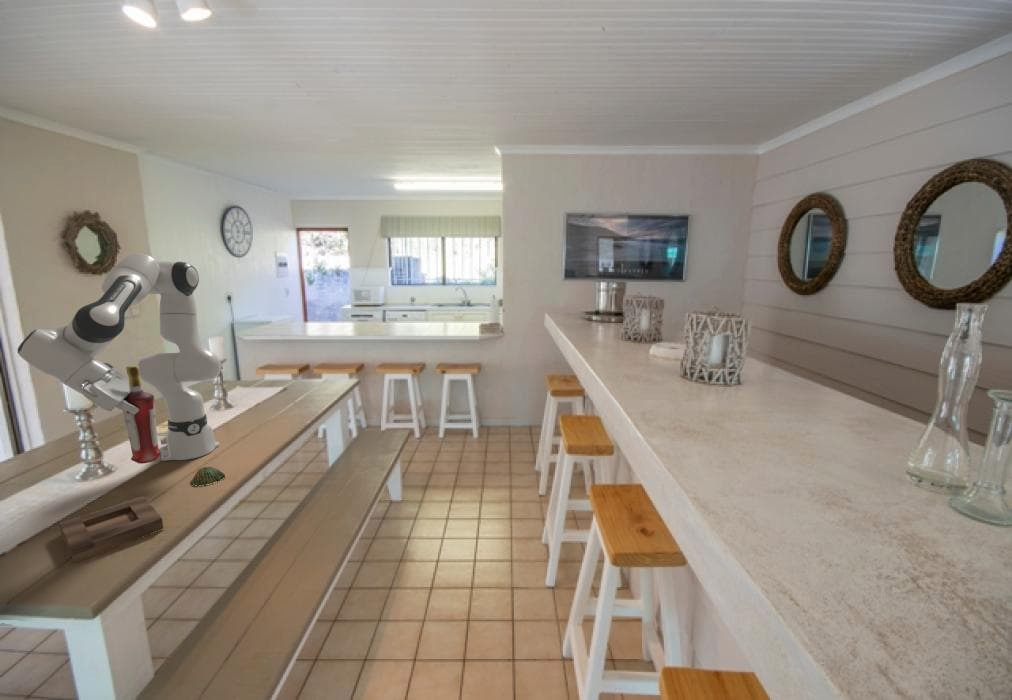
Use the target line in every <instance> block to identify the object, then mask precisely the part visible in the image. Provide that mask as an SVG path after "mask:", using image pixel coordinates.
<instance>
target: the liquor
mask: <svg viewBox="0 0 1012 700" xmlns="http://www.w3.org/2000/svg"><path fill="white" fill-rule="evenodd" d="M125 367H126V374H127V377H128V378H129V389H130V394H129V395H127V396H126V397H125V398H124V399H123V400H125V401H127V403H129V404H131V405H133V406H134V405H135V406H137V407H139V408H140V410H139V411H138V412H137V413H136V414H132V413H130V412H128V411H124V410H122V414H123V418H124V423H125V426H126V430H127V434H128V435H127V436H128V440H129V444H130V449H131V457H130V458H131V459H130V460H131V461H133V462H135V463H136V464H147V463H152V462H154V461H156V460H157V459H158V458H159V456H160V457H161V452H160V446H159V441H158V440H159V439H158V430H157V417H156V414H157V413H156V406H155V395H154V394H152V393H150V392H146V391H145V392H144V388H143V386H142V381H141V378H140V376H139V366H138V365H129V366H125Z"/></svg>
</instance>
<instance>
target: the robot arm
mask: <svg viewBox="0 0 1012 700" xmlns="http://www.w3.org/2000/svg"><path fill="white" fill-rule="evenodd" d="M199 282H200V279H199V273H198V271H197V269H196V268H195V267H194V265H192V264H191V263H189V262H184V261H157V260H156V259H155V258H153V257H151V256H150V255H148V254H146V253H141V252H140V253H139V252H137V253H132V254H129V255H127V256H126V257H125V258H123V259H122V260H120V261H119V262H118V263H117V264H115V266H114V267H113V268H112V269H111V270H110V271H109V272H108V274H107V275H106V277H105V278H104V280H103V283H102V284H101V290H102V292H103V295H102V296H101V297H100V298H99V299H98V300H96V301H94V302H92V303H89V304H86V305H84V306H82V307H80V308H79V309H78V311H76V313H75V314H74V317H73V318H72V319H71V321H70V322H69V323H68V325H65V326H63V327H58V328H52V329H50V328H49V329H48V328H47V329H43V328H37V329H34V330H33V331H31V332H30V333H29V334H28V335H27V336H26V337H25V338H24V340H23V341H22V342H21V343H20V344H19V346H18V347H17V354H18V355H19V357H20V358H22V359H23V360H24V361H25V362H26V363H28V364H29V365H31V366H33V367H34V368H35V369H37V370H38V371H41V372H43V373H44V374H46V375H49V376H52V377H55V378H57V380H59V382H61V384H63V385H65V386H67V387H69V388H70V389H72V390H73V391H75V392H77V393H79V394H81V395H83V396H84V397H85V398H86V399H87V400H88V401H89V402H92V403H93V404H94V405H96V406H97V407H99V408H101V409H103V410H105V411H108V412H112V411H113V410H114V409H115V408H117V409H119V410H120V411H121V410H122V411H123V410H124V411H128V412H130V413H132V414H136V413H137V412H138V411H139V410H140V408H139V407H137V406H135V405H134V406H133V405H131V404H129V403H127V401H125V400H123V399H124V398H125V397H126V396H127V395H129V394H130V389H129V376H127V375H125V374H123V373H122V372H120V371H118V370H117V369H115V366H114V365H112V364H111V363H108V362H101V361H100V360H97V358H95V357H96V356H98V355H99V354H101V353H102V352H103V351H104V350H105V349H106V348H107V347H108V345H109V344H110V343H111V342H112V341H113V340H114V339H115V338H116V337H118V336H119V335H120V334H121V333H122V332H123V330H124V328H125V315H126V312H127V310H128V309H129V307H130V306H136V305H138V304H139V303H140V302H141V301H142V300H143V301H144V299H145V298H146V297H147V296H148V294H150V295H151V294H153V295H159V296H160V299H159V332H160V335H161V337H162V338H163V339H164V340H165V341H166V342H170V343H172V344H175V345H176V346H177V347H178V349H179V352H163V353H161V352H160V353H154V354H150V355H149V354H148V355H145V356H143V357H142V358H141V359H140V360H139V362H138V364H137V366H139V378H140V380H142V381H144V382H145V383H147V384H150V385H151V386H152V387H154V388H155V389H156V390H157V391H158V392H159V394H160V395H161V396H162V398H163V399H164V402H165V406H166V409H167V415H168V416H167V417H168V420H167V429H168V430H167V431H166V432H165V434H164V437H162V438H160V445H159V451H160V452H161V454H160V459H161V461H164V462H166V461H187V460H191V459H192V460H193V459H197V458H201V457H203V456H206V455H208V454H211V452H213V451H214V449H216V448H217V447H219V446H220V445H221V444H220V442H219V441H216V440H215V434H214V430H213V427H212V426H211V425H209V424H208V417H207V414H206V413H205V405H204V398H203V395H201V393H199V392H198V391H196V390H193V389H191V388H189V387H188V386H187V385H186V383H191V382H193V383H194V382H205V381H208V380H213V379H216V378H217V377H218V376H219V375H220V373H221V370H222V363H221V360H220V358H219V357H218V355H217V354H215V353H214V352H212V351H210V350H209V349H208V348H207V347H206V346H205V345H204V344H203V342H202V340H201V338H200V335H199V329H198V316H197V315H198V314H197V305H196V300H195V296H194V291H195V290H196V289H197V287H198V284H199Z"/></svg>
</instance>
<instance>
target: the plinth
mask: <svg viewBox="0 0 1012 700" xmlns="http://www.w3.org/2000/svg"><path fill="white" fill-rule="evenodd" d="M59 527H60V528H59V529H60V532H61V535H62V538H63V541H64V543H65V545H66V547H67V551H68V552H69V555H70V556H71V559H72V561H73V563H74V564H76V563H79V562H81V561H83V560H86V559H89V558H92V557H95V556H97V555H100V554H103V553H105V552H108V551H110V550H113V549H116V548H119V547H121V546H123V544H124V545H126V543H127V544H129V543H131V542H130V541H132V542H134V541H133V540H135V541H137V540H139V539H138V538H140V539H142V538H141V537H143V536H145V537H147V536H146V535H148V536H150V535H149V534H151V533H153V532H155V531H158V530H161V529H163V528H164V523H163V517H162V516H161V515H160V513H158V512H157V510H156V509H155V508H154V507H153V506H152V504H151V503H150V502H149V501H148V500H147V499H146V497H145V496H144V495H142V496H139V497H136V498H133V499H132V498H131V499H129V500H126V501H123V502H121V503H117V504H113V505H111V506H108V507H105V508H101V509H99V510H96V511H95V510H94V511H92V512H89V513H86V514H82V515H80V516H76V517H73V518H70V519H67V520H63V521H60V522H59ZM161 531H162V530H161ZM153 534H154V533H153ZM151 535H152V534H151ZM143 538H144V537H143ZM136 539H137V540H136ZM128 542H129V543H128ZM120 545H121V546H120ZM118 546H119V547H118ZM115 547H116V548H115Z"/></svg>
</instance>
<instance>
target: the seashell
mask: <svg viewBox="0 0 1012 700" xmlns="http://www.w3.org/2000/svg"><path fill="white" fill-rule="evenodd" d="M225 475H226V474H225V473H223V472H222V471H221V470H219V469H217V468H215V467H212V466H205V467H201V468H199V469H198V470H197V471H196V472H195V474H194V476H193V478H192V479H191V480H190V482H189V484H190V483H191V484H192V485H193V484H194V486H195V485H197V486H199V485H201V486H202V485H206V484H210V483H213V482H216V481H220V480H221V479H223V478H224V479H226V477H225ZM224 479H223V480H224ZM221 481H222V480H221ZM221 481H220V482H221ZM191 484H190V485H191ZM192 485H191V486H192ZM194 486H193V487H194ZM197 486H196V487H197Z"/></svg>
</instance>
